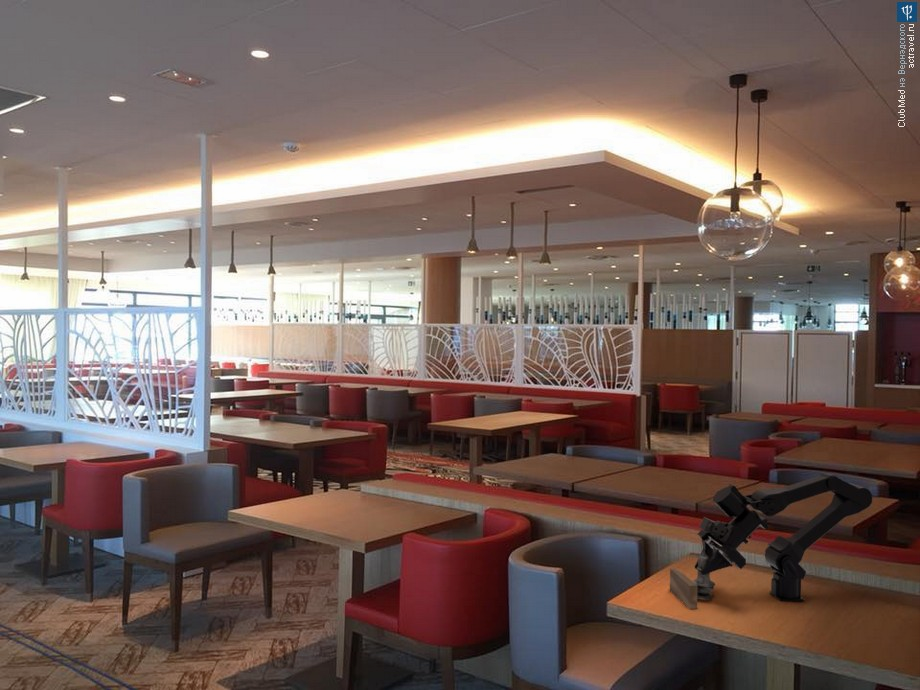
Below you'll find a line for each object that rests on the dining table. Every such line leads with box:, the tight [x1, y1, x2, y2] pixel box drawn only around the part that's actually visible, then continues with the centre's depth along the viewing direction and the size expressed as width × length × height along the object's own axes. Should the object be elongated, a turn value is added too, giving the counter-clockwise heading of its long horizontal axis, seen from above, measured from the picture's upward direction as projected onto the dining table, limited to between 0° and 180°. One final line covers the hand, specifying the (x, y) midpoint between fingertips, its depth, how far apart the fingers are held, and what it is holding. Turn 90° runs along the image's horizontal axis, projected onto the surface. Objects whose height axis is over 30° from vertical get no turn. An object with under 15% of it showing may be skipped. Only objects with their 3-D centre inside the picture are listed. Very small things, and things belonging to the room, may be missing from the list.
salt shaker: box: [692, 552, 716, 601], centre depth 205 cm, size 6×6×12 cm
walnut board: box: [669, 568, 698, 610], centre depth 205 cm, size 2×14×6 cm, turn 5°
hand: (698, 571), depth 205 cm, fingers closed on salt shaker, 4 cm apart
